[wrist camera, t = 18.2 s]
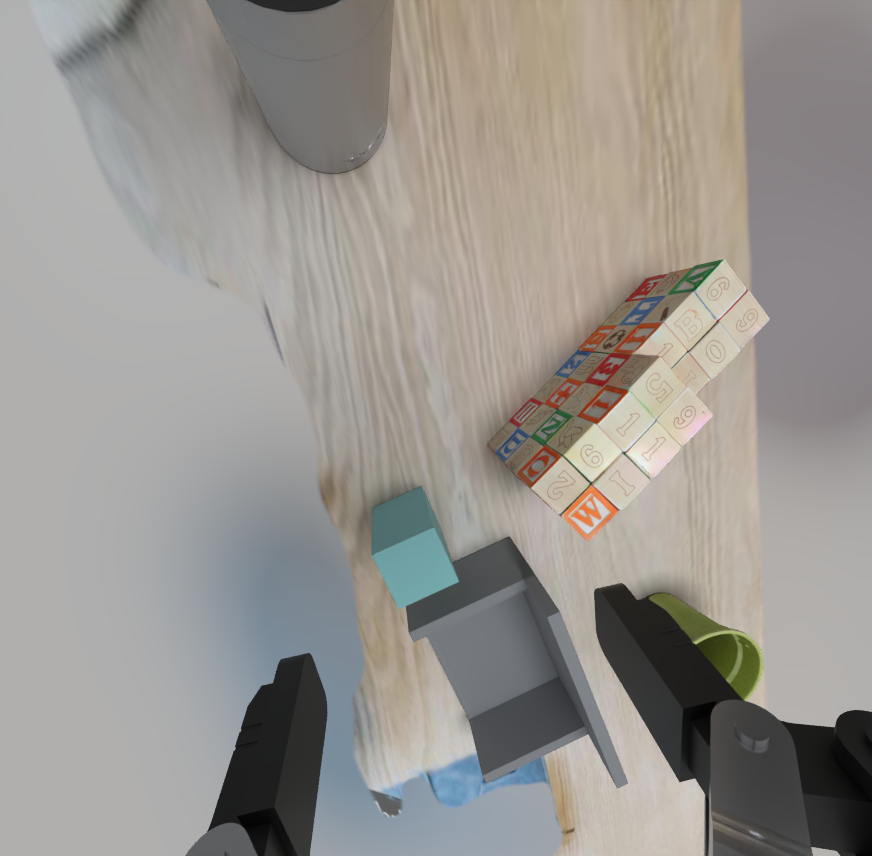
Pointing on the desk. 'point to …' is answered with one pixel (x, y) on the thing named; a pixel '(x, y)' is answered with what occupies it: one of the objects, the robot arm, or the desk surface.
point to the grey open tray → (510, 662)
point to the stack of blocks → (629, 394)
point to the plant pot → (718, 645)
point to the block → (411, 548)
